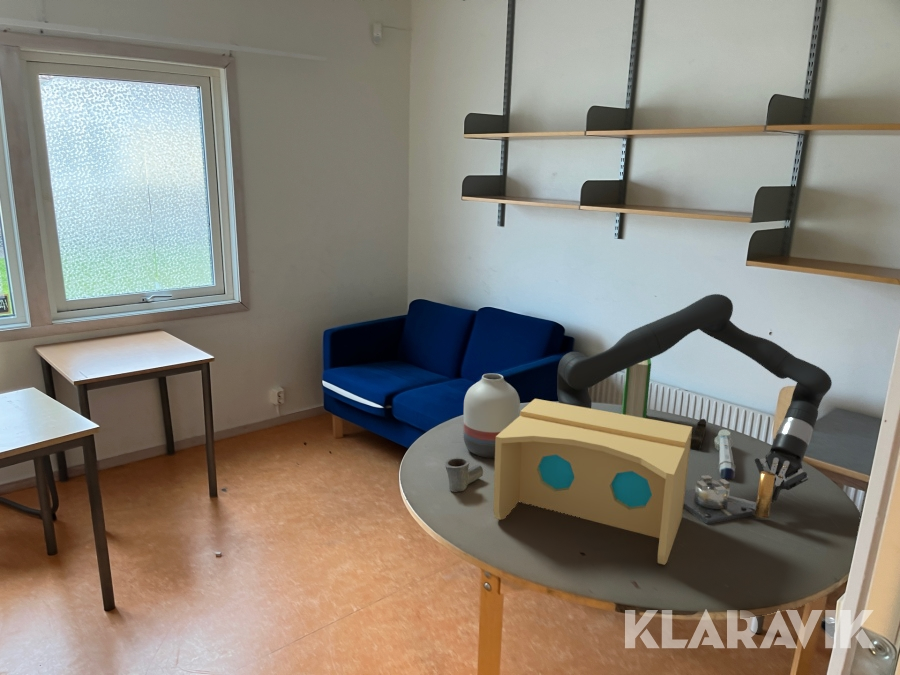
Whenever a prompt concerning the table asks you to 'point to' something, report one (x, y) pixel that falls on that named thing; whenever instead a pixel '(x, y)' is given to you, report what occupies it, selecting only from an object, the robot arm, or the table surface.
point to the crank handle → (718, 496)
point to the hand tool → (698, 435)
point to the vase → (488, 413)
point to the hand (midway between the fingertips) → (768, 500)
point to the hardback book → (636, 389)
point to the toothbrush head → (725, 454)
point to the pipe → (461, 473)
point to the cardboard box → (595, 468)
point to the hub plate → (714, 510)
